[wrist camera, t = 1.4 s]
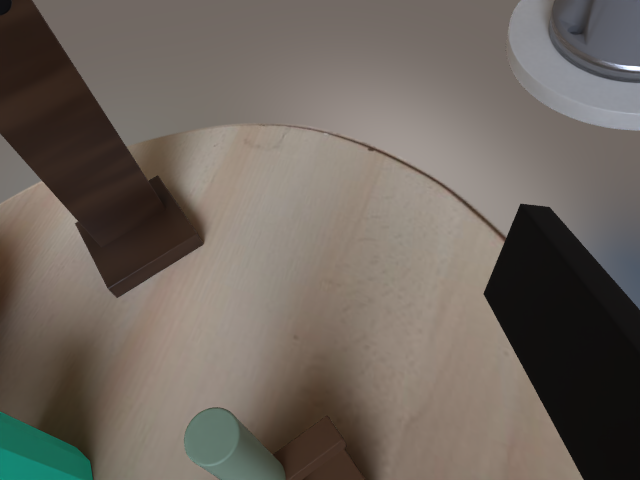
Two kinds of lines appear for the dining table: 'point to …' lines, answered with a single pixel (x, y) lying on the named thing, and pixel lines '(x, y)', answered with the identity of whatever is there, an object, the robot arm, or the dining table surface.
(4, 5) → the brown piece
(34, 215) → the dining table surface
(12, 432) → the candle
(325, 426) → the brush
